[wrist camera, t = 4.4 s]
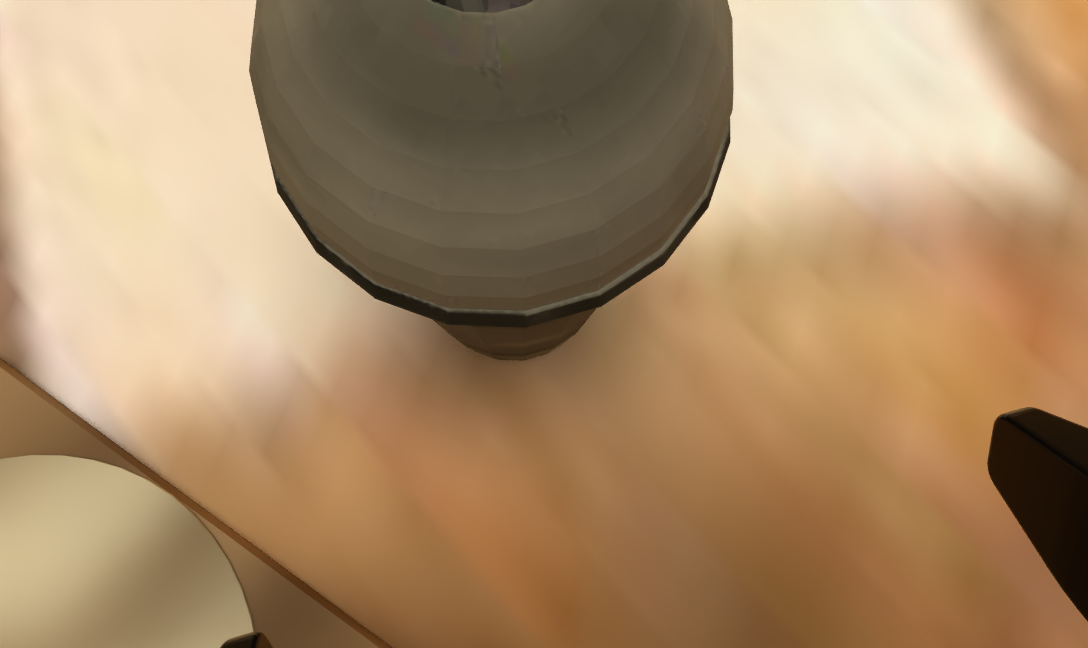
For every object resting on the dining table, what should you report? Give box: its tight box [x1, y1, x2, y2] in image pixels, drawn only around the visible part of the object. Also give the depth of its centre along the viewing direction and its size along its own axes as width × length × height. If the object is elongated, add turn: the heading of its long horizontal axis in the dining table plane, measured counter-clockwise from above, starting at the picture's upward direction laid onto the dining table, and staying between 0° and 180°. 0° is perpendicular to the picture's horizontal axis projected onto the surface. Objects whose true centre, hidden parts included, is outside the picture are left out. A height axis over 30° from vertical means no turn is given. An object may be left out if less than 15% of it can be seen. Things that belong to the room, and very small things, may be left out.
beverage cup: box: [249, 0, 733, 360], centre depth 14 cm, size 7×7×20 cm
